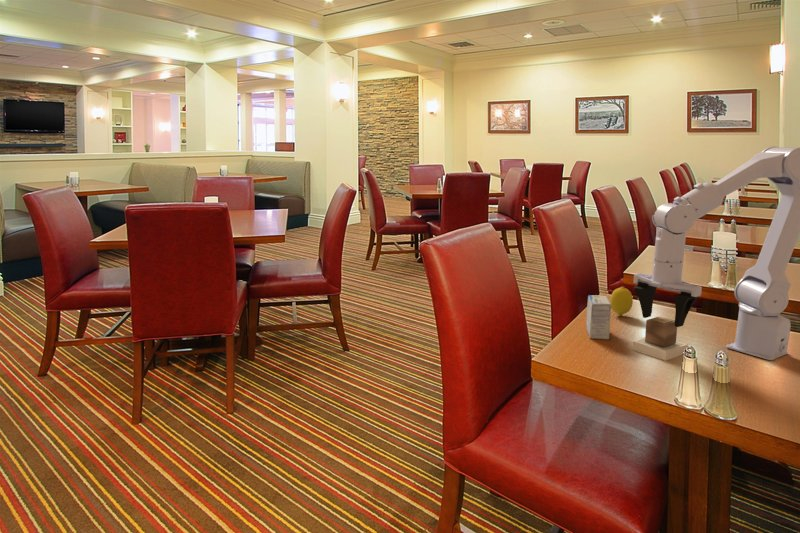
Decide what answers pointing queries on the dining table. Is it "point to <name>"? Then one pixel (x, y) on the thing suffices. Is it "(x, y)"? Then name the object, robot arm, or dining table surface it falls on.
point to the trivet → (659, 349)
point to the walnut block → (660, 331)
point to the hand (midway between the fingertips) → (662, 321)
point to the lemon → (621, 301)
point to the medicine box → (598, 317)
